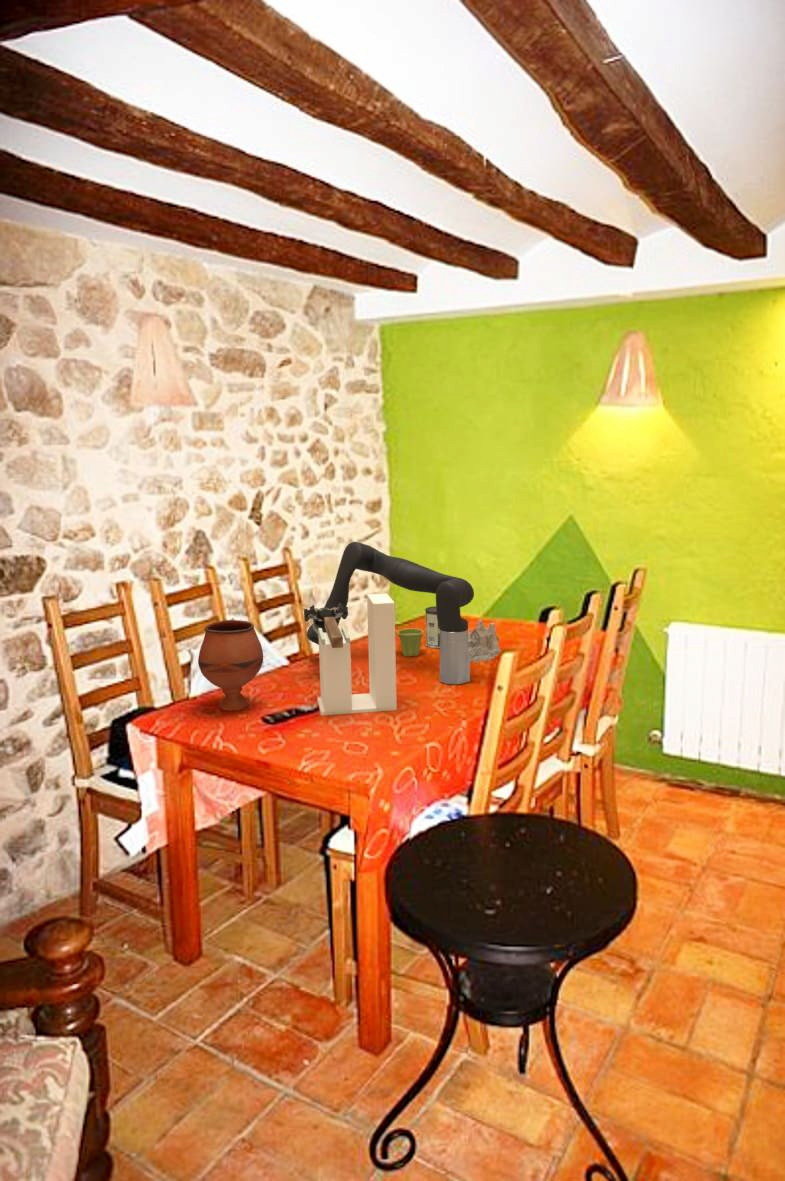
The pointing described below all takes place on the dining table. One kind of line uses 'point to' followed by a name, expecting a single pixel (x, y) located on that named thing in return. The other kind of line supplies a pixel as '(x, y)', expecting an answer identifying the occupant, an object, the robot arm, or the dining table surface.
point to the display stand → (381, 665)
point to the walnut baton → (333, 632)
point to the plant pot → (410, 641)
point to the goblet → (230, 659)
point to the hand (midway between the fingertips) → (327, 607)
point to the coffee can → (432, 628)
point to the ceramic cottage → (483, 643)
